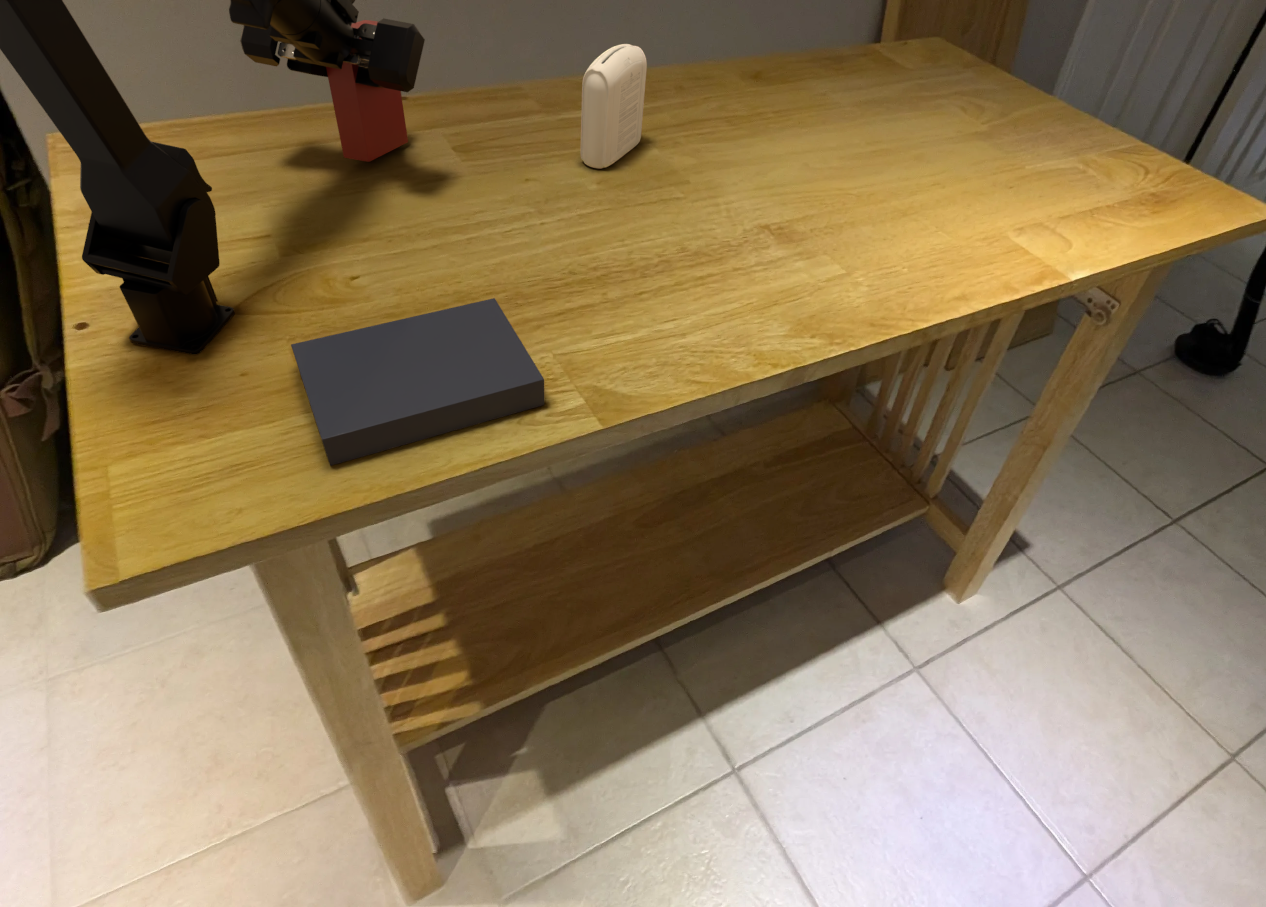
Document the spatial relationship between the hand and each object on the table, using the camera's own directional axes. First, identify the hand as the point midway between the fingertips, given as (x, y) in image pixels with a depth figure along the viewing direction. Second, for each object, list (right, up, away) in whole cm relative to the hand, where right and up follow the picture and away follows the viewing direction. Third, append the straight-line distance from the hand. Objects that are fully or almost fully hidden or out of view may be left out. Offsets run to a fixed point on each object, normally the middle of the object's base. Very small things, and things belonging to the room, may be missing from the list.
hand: (369, 80), depth 90 cm
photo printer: (+27, -5, +10) cm, 29 cm away
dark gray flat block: (+12, -37, -22) cm, 44 cm away
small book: (0, -6, +4) cm, 8 cm away
